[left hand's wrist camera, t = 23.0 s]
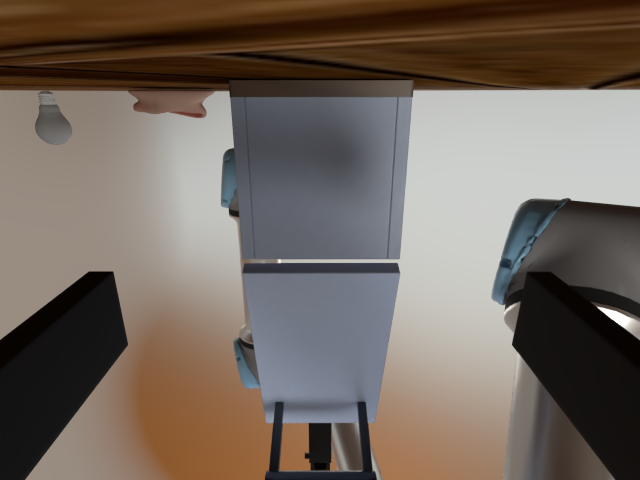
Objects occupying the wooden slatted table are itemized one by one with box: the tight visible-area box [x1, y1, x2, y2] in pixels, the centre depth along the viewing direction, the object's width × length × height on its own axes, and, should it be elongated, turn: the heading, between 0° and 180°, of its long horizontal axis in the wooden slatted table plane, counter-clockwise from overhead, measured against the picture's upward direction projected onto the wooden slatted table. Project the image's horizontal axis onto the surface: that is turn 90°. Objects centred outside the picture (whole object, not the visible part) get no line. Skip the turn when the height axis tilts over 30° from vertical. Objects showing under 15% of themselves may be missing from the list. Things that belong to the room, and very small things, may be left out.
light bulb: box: [35, 91, 72, 145], centre depth 77 cm, size 6×6×10 cm
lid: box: [242, 263, 400, 480], centre depth 27 cm, size 18×10×8 cm
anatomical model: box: [128, 90, 215, 118], centre depth 54 cm, size 13×4×12 cm
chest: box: [229, 80, 414, 259], centre depth 30 cm, size 17×10×10 cm, turn 0°
